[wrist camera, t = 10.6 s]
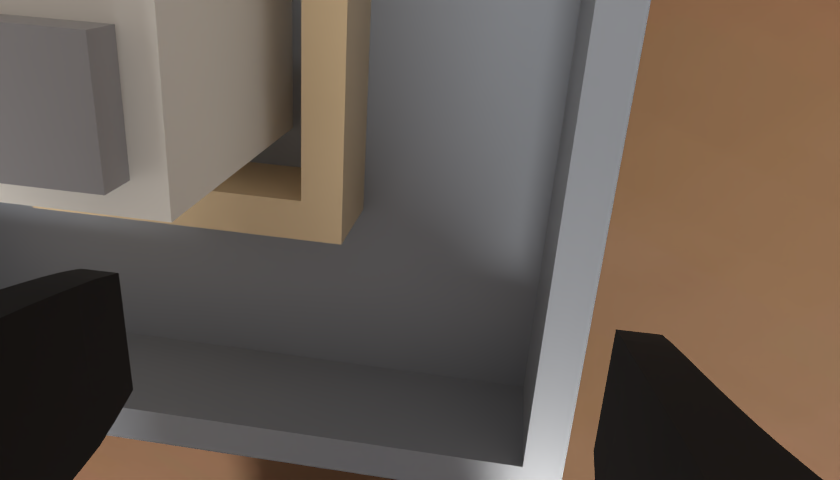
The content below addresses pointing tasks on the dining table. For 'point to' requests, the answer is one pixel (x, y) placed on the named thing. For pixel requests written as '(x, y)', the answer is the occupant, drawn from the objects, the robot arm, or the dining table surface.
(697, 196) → the dining table surface
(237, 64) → the plug
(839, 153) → the dining table surface
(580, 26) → the box
